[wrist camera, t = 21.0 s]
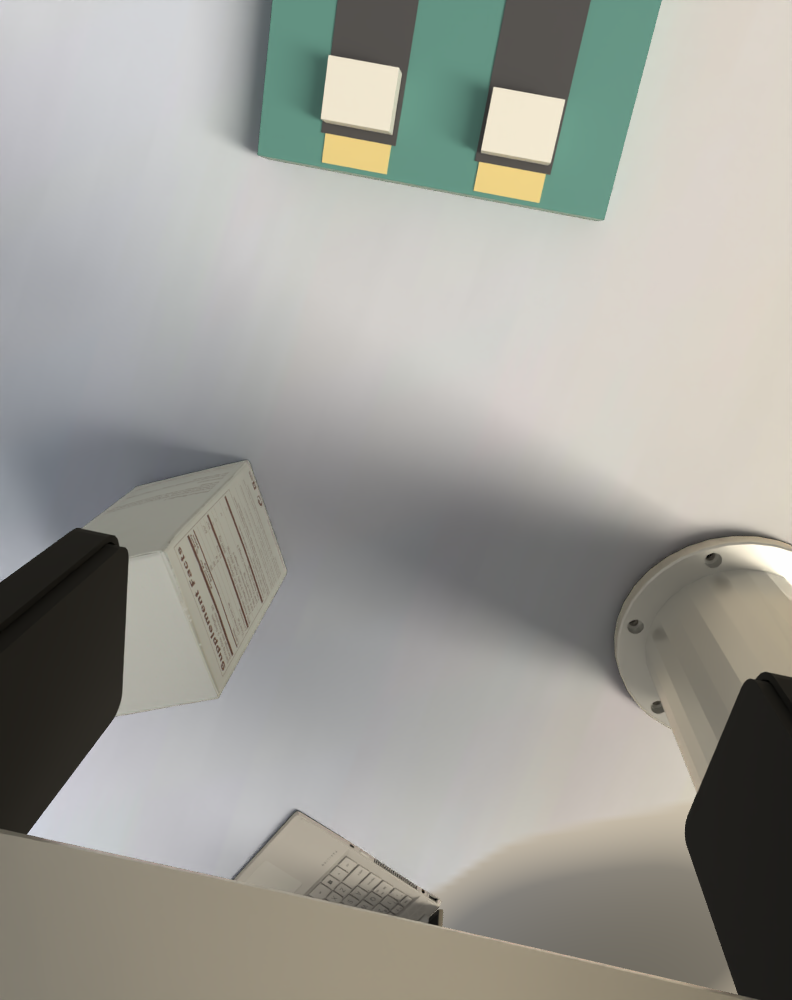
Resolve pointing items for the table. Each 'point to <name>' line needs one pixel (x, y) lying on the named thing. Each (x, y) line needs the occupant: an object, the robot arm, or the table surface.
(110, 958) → the robot arm
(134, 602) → the supplement box
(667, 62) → the table surface
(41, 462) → the table surface
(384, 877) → the laptop
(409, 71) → the switch panel
